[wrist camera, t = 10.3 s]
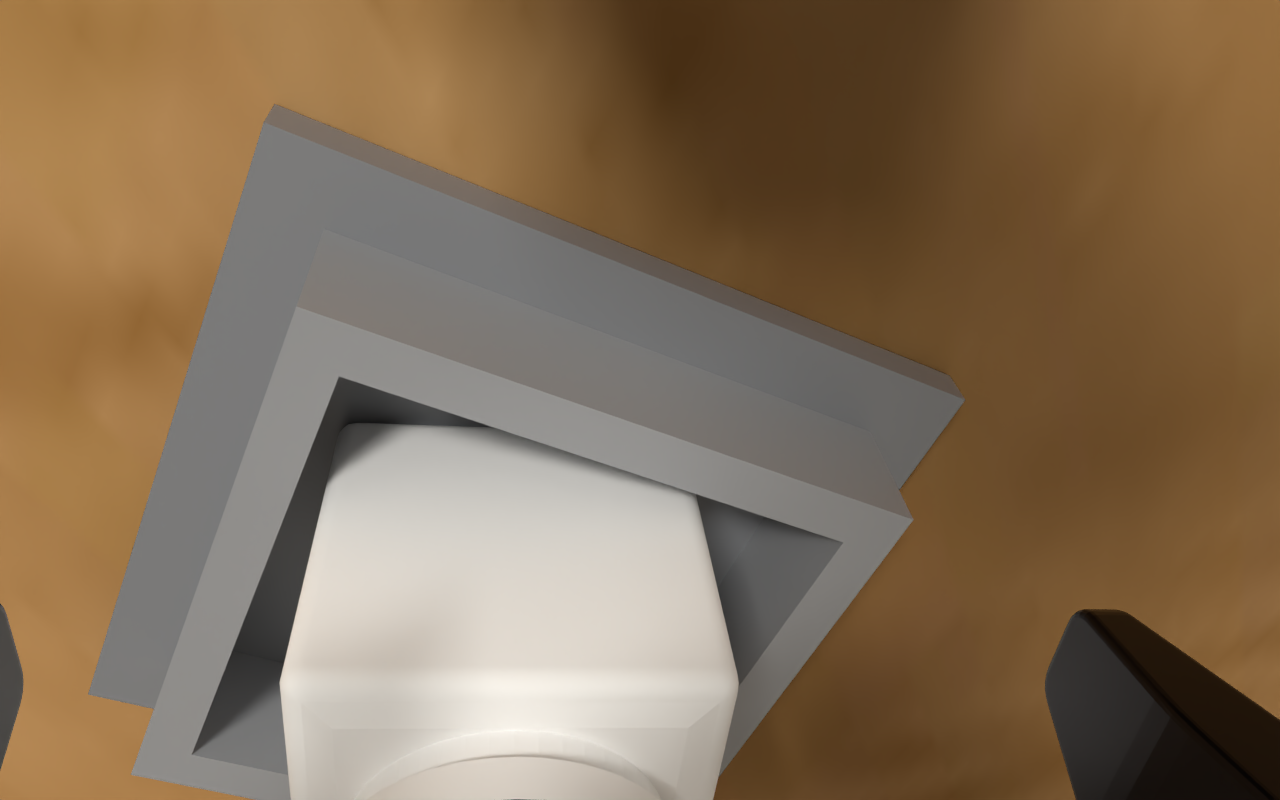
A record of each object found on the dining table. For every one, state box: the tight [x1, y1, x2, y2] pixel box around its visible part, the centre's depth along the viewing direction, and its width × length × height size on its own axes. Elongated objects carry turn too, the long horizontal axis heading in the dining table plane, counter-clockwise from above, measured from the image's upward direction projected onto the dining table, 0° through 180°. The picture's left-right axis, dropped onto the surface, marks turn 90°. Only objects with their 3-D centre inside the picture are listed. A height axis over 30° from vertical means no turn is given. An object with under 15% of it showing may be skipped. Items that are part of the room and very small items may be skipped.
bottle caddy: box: [88, 104, 965, 800], centre depth 23 cm, size 15×15×4 cm
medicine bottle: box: [279, 423, 739, 800], centre depth 19 cm, size 7×7×12 cm
